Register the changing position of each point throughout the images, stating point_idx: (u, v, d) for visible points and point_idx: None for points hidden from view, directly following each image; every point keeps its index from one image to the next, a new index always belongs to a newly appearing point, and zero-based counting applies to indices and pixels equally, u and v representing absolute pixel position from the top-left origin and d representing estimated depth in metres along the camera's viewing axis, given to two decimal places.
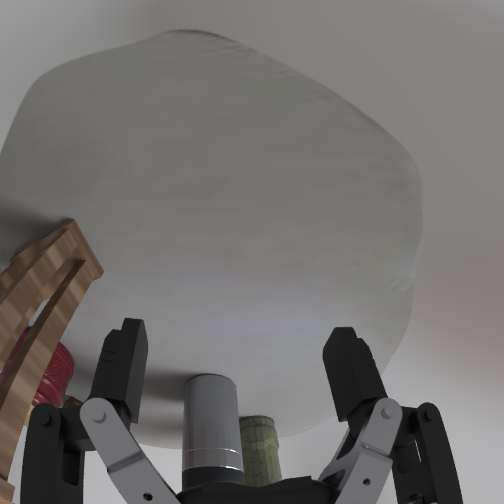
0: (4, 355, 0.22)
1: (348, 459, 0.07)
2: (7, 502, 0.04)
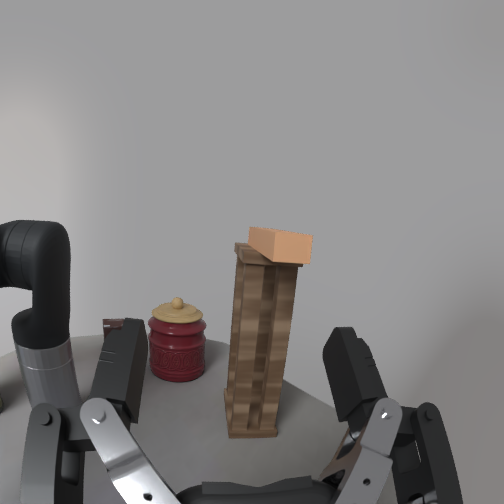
0: (235, 337, 0.50)
1: (348, 459, 0.07)
2: (299, 262, 0.30)
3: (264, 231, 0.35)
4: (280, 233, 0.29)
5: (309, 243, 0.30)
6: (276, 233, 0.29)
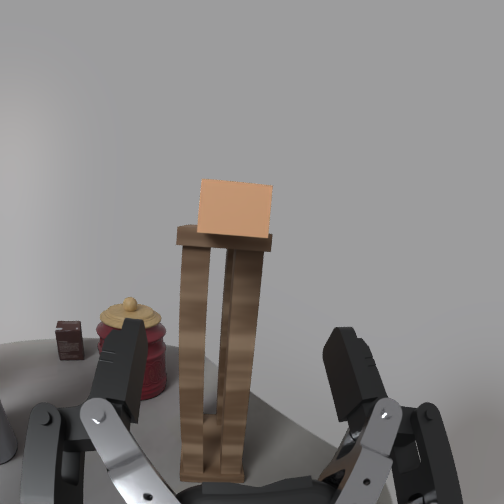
0: None
1: (348, 459, 0.07)
2: (247, 234, 0.16)
3: None
4: (211, 181, 0.16)
5: (266, 199, 0.16)
6: (203, 181, 0.16)
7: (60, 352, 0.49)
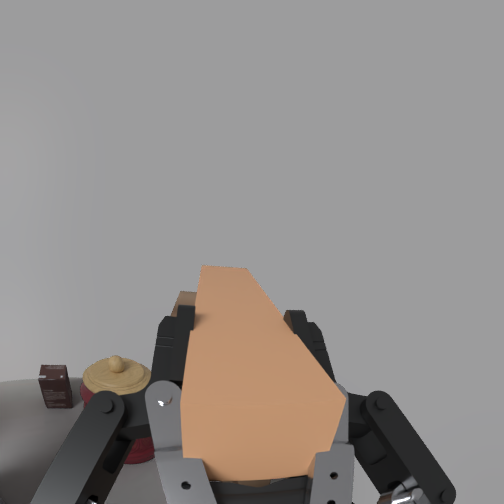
0: None
1: None
2: (284, 476, 0.06)
3: None
4: (203, 407, 0.06)
5: (328, 424, 0.06)
6: (184, 408, 0.06)
7: (46, 400, 0.39)
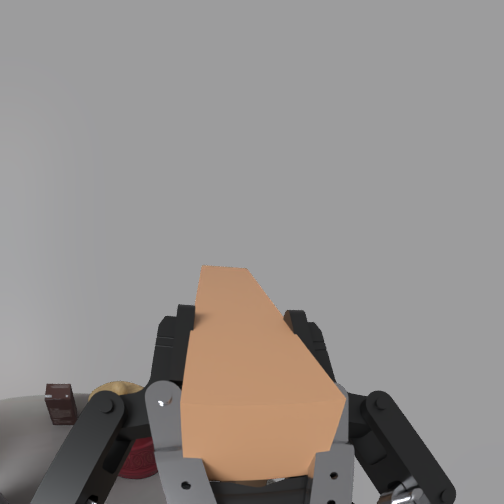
0: None
1: None
2: (284, 476, 0.06)
3: None
4: (203, 407, 0.06)
5: (327, 424, 0.06)
6: (184, 408, 0.06)
7: (52, 418, 0.40)
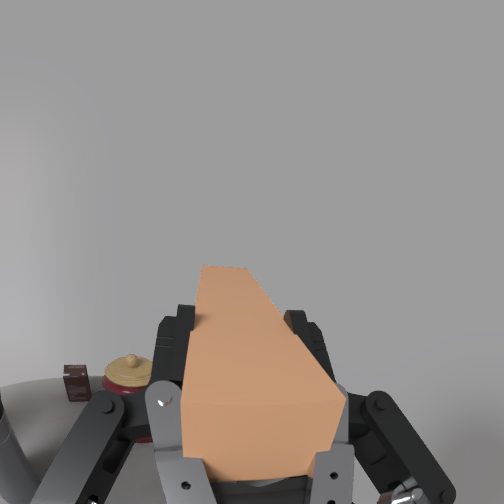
0: None
1: None
2: (284, 476, 0.06)
3: None
4: (203, 407, 0.06)
5: (328, 424, 0.06)
6: (185, 408, 0.06)
7: (69, 395, 0.50)
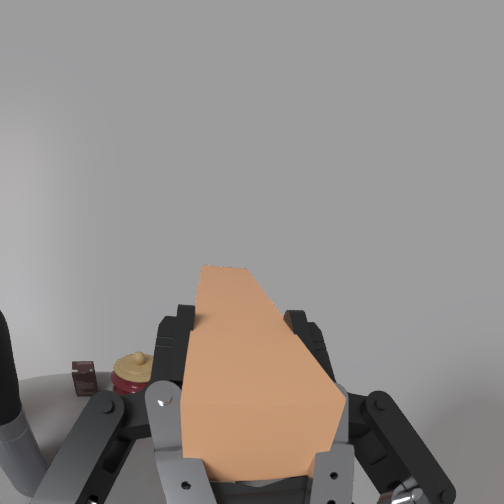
0: None
1: None
2: (284, 476, 0.06)
3: None
4: (203, 407, 0.06)
5: (328, 424, 0.06)
6: (184, 408, 0.06)
7: (77, 390, 0.54)
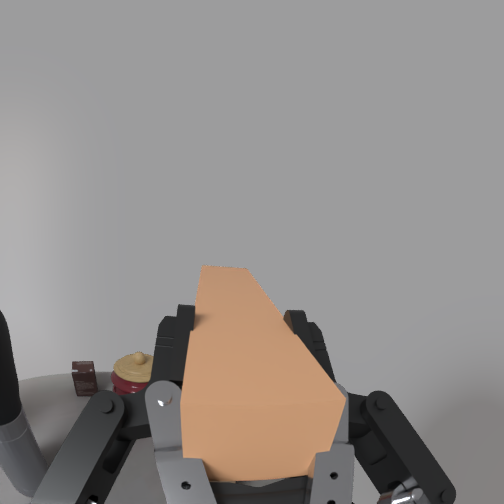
0: None
1: None
2: (284, 476, 0.06)
3: None
4: (203, 407, 0.06)
5: (328, 424, 0.06)
6: (184, 408, 0.06)
7: (77, 390, 0.54)
